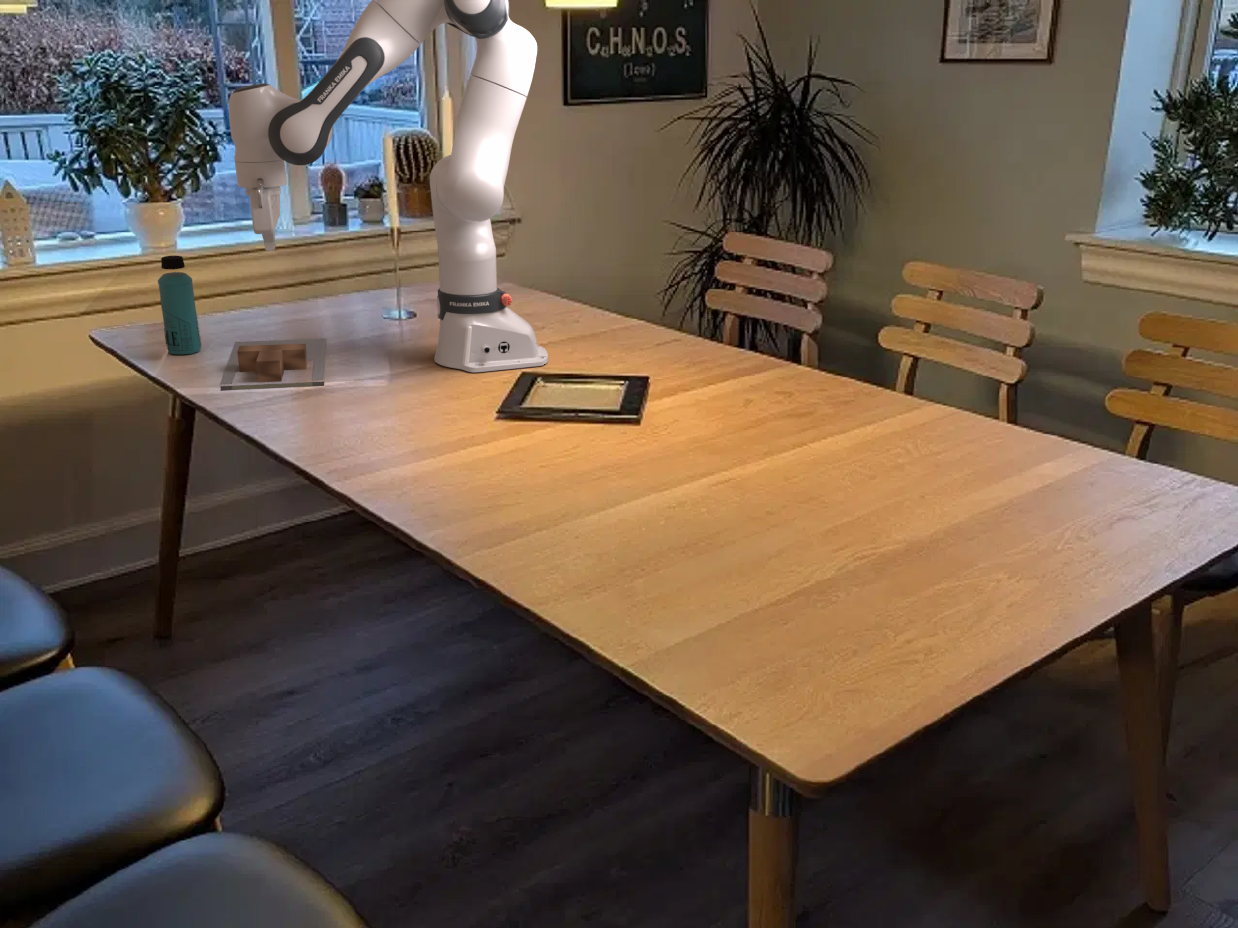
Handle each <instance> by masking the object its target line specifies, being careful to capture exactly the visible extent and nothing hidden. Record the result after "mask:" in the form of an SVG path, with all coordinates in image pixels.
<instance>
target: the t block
mask: <svg viewBox="0 0 1238 928" xmlns="http://www.w3.org/2000/svg"><path fill="white" fill-rule="evenodd" d="M237 354H238V363H239V364H238V371H239V373H249V372H251V373H253V372H254V373H257V380H258V383H278V382H279V383H280V382H281V383H282V381H283V377H284V372H285V371H299V370H301V371H302V370H303V371H304V370H307V368H308V361H307V354H306V344H279V345H250V346H239V348H238V351H237Z"/></svg>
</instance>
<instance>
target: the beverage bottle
mask: <svg viewBox="0 0 1238 928" xmlns="http://www.w3.org/2000/svg"><path fill="white" fill-rule="evenodd" d="M160 264H161V269H163V270H180V269H184V268H185V267H186V266H185V261H184V257H183V256H181V255H166V256H162V257H161V263H160ZM157 284H158V288H159V289H158V290H159V302H160V309H161V312H162V317H163V318H162V319H163V333H164V340H165V344H166V349H167V352H168V353H169V354H172V355H190V354H195V353H198V352H200V351H201V350H202V349H201V348H202V340H201V336H200V335H201V334H200V332H201V331H200V326H199V322H198V321H199V319H198V312H197V308H196V302H195V301H196V300H195V292H194V286H193V278H192V277H191V275H188V273H185V272H184V271H183V272H179V271H171V272H166V273H163V274H162V275H161V276H160V277H159V278H158V279H157Z"/></svg>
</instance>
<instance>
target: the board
mask: <svg viewBox="0 0 1238 928" xmlns="http://www.w3.org/2000/svg"><path fill="white" fill-rule="evenodd" d="M279 344H306V354H307V362H312V361H313V369H312V371H313V372H312V379H311V380H312V381H307V382H305V381H304V382H288V383H287V382H286V383H284V382H283V383H282V382H281V383H264V384H263V383H262V384H261V383H260V384H240V385H237V384H236V385H232V384H233V382H234V378H235V375H236V372H237V369H238V368H239V363H238V354H237V351H238V348H239V346H250V345H279ZM326 353H327V338H305V339H301V338H300V339H299V338H298V339H276V340H275V339H274V340H251V341H250V340H248V341H247V340H246V341H245V340H244V341H235V342H234V344H233V347H232V350H231V354H230V355H229V358H228V360H227V361H228V362H227V364H226V366H225V369H224V372H223V376H222V378H221V381H220V384H219V385H220V386H219V387H220V391H221V392H222V391H225V392H226V391H240V390H241V391H243V390H245V391H246V390H264V389H267V390H269V389H286V388H309V387H311V388H313V387H325V381H324V379H325V378H324V377H325V364H326V356H327V355H326Z"/></svg>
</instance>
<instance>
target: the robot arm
mask: <svg viewBox="0 0 1238 928" xmlns="http://www.w3.org/2000/svg"><path fill="white" fill-rule="evenodd" d="M509 16H510V2H509V0H371V1H370V2H369V3H368V5H367V6H366V7H365V8H364V10H363V11H362V13H361V14H360V16H359V18H358V19H357V21H356V22H355V25H354V26H353V28H352V30H351V32H350V35H349V37H348V38H347V41H346V42H345V46H344V47H343V49H342V52H341V53H340V54H339V57H338V58H337V60H336V62H335V63H334V64H333V66H331V68H330V69H329V70H328V71H327V73H325V75H324V76H323V77H322V78H321V79H320V80H319V81H318V83H316V85H315V86H314V87H313V89H311V91H310V92H309V93H308V94H307V95H306V96H305V97H303V98H302V99H300V98H294V97H292V96H290V95H288V94H286V93H284V92H283V91H280V90H278V89H276V88H275V87H274V86H273V85H271V84H270V83H256V84H252V85H246V86H243V87H240V88H237V89H235V90H233V92H232V93H231V94H230V96H229V100H228V116H229V117H228V118H229V126H230V127H229V128H230V137H231V139H232V141H233V144H234V149H235V150H234V157H233V158H234V165H235V167H234V168H235V173H236V181H237V187H240V188H242V189H243V188H244V189H245V195H246V196H248V197H249V204H250V214H251V221H252V228H253V232H254V234H255V235H261V236H262V240H263V243H264V250H265V251H266V252H274V251H275V249H276V247H277V246H276V227H277V225H278V222H279V219H280V216H281V215H280V213H281V194H282V189H281V187H283V186H285V185H287V184H288V181H287V173H286V164H285V163H288V164H290V165H295V166H307V165H310V164H311V165H312V163H315V162H316V161H317V160H319V159H320V158H321V157H322V155H323V154H324V153H325V150H326V149H327V147H328V146H329V144H330V143H331V140H332V137H333V133H334V128H333V127H334V125H335V123H336V122H337V121H338V119H339V118H340V117H341V116H342V115H343V113H345V111H346V110H347V108H348V107H349V106H350V105H351V104H352V103H353V102H354V101H355V100H356V98H357V97H358V96H359V95H360V93H362V91H363V90H365V89H366V88H367V87H368V86H369V85H370V84H372V83H373V82H374V81H376V80H378V79H379V78H380V77H383V76H384V75H386V74H388V73H390V72H391V71H393V70H394V69H396V68H397V67H398V66H399V65H401V64H402V63H404V62H405V61H406V60H407V59H409V57H411V56H412V54H413V53H415V51H416V50H418V48H419V47H420V46H421V44H423V43H424V41H425V40H426V38H428V37H429V35H430V34H431V33H432V32H433V31H434V30H435V29H436V28H438V27H439V26H440V25H442V24H447V25H450V26H451V27H453V28H455V29H457V30H459V31H461V32H462V33H464V34H465V35H468V36H470V37H474V39H475V41H476V46H477V47H476V54H475V57H474V58H475V59H474V62H473V66H472V68H471V70H470V74H469V77H468V79H467V84H466V87H465V89H464V93H463V96H462V99H461V102H460V105H459V108H458V111H457V115H456V118H455V119H456V120H455V123H456V124H455V125H456V126H455V131H454V137H453V143H452V149H451V153H450V155H446V156H444V157H443V158H441V159H439V160H438V161H437V162H436V164H434V166H433V167H432V169H431V171H430V175H429V187H430V197H431V209H432V215H433V223H434V229H435V238H436V244H437V254H438V256H437V257H438V276H439V278H438V279H439V288H438V289H437V296H436V299H437V301H436V302H437V305H436V306H437V315H438V318H439V327H438V328H439V330H438V338H437V345H436V350H435V354H434V358H433V360H434V362H435V363H437V364H438V365H439V366H443V367H447V368H452V369H458V370H463V371H466V372H468V373H482V372H483V373H484V372H495V371H503V370H512V369H513V370H514V369H523V368H533V367H540V366H541V367H542V366H545V365H546V364H547V363H548V362H549V354H548V352H547V350H546V349H545V348H544V347H543V346H541V345H539V344H538V342H537V337H536V333H535V330H534V328H533V327H532V326H531V324H530V323H529V322H528V321H526V320H525V319H524V318H523V317H521V316H520V315H518V314H517V313H516V312H515V311H513V310H512V309H511V308H509V307H508V306H510V305H511V304H513V299H512V297H511V295H510V294H508V293H507V292H506V291H505V290H503V289H502V288H501V289H500V288H499V287H498V279H497V278H498V277H497V276H498V275H497V271H498V270H497V248H496V244H495V240H494V235H493V228H492V227H493V226H492V222H491V219H492V218H493V217H494V216H496V214H497V213H499V211H500V210H501V208H502V205H503V203H504V199H505V198H504V195H505V193H504V192H505V190H504V189H505V184H506V179H507V174H508V171H509V164H510V158H511V152H512V147H513V142H514V139H515V135H516V131H517V128H518V126H519V122H520V119H521V117H522V113H523V111H524V107H525V104H526V102H527V100H528V95H529V92H530V88H531V86H532V85H531V84H532V81H533V77H534V72H535V67H536V61H537V55H538V44H537V41H536V39H535V37H534V36H533V35H532V33H531V32H530V31H529V30H527V29H526V28H524V27H523V26H521V25H519V24H516V23H515V22H513V21H512V20H511V19H510V17H509ZM544 364H545V365H544Z"/></svg>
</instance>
